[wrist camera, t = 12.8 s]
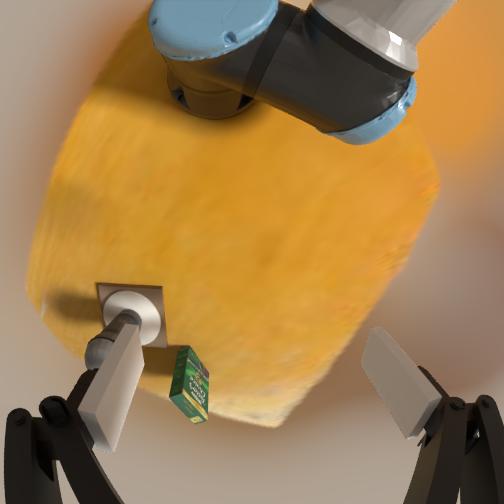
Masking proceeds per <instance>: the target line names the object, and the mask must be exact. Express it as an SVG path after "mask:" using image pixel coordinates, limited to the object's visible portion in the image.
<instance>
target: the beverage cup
mask: <svg viewBox="0 0 504 504" xmlns="http://www.w3.org/2000/svg"><path fill="white" fill-rule="evenodd" d="M125 324H133V325H138V327H139V333H140V330H141V325H142V319H141V317H140V315H139V314H138V313H137V312H136V311H134V310H132V309H124V310H122V311H121V312H120V313H119V314H118V315H117V316H116V317H115V318H114V319H113V320H112V321H111V322H110V323H109V324H108V325H107V327H106V328H105V329H104V330H103V331H102V332H101V333H100V334H98V335H97V336H95V337H94V338H93V339H91V340H90V341H89V342H88V345H87V348H86V352H85V364H86V367H87V369H90V370H96V371H98V370H99V368H100V366H101V365H102V363H103V361H104V359H105V358H106V356H107V354H108V352H109V351H110V349H111V347H112V345H113V344H114V342H115V340H116V339H117V337H118V335H119V333H120V332H121V330H122V328H123V327H124V325H125Z"/></svg>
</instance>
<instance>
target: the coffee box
mask: <svg viewBox="0 0 504 504" xmlns="http://www.w3.org/2000/svg"><path fill="white" fill-rule="evenodd" d="M208 390H209V372H208V371H207V370H206V368H205V367H204V365H203V364H202V363H201V361H200V360H199V358H198V357H197V356H196V354H195V352H194V351H193V350H192V348H191V347H190V346H188V347H185V348H182V349H180V350H179V351H178V356H177V361H176V365H175V370H174V374H173V379H172V384H171V389H170V394H169V398H170V399H171V400H172V401H173V402H174V403H175V404H176V406H178V408H179V409H180V410H181V411H182V412H183V413H184V414H185V415H186V416H187V417H188V418H189V419H190V420H191V421H192V422H194V423H195V424H198V423H201V422H205V421H208Z"/></svg>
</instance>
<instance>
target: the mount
mask: <svg viewBox="0 0 504 504" xmlns="http://www.w3.org/2000/svg"><path fill="white" fill-rule="evenodd" d="M98 289H99V295H100V301H101V307H102V313H103V318H104V323H105V328H106V327H107V325H108V324H109V323H110V322H111V321H112V320H113V319H114V318H115V317H116V316H117V315H118V314H119V313H120V312H121V311H122V310H124V309H132V310H134V311H136V312H137V313H138V314H139V315H140V317H141V319H142V325H141V330H140V333H139V334H140V340H141V346H148V347H159V348H167V345H168V342H167V333H166V324H165V313H164V301H163V287H162V286H143V285H126V284H110V283H100V284H99V285H98Z"/></svg>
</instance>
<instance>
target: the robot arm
mask: <svg viewBox="0 0 504 504" xmlns="http://www.w3.org/2000/svg"><path fill="white" fill-rule="evenodd" d="M456 1H457V0H311V3H310V4H309V6H308V8H307V10H303V9H300V8H298V7H296V6H293V5H291V4H288V3H286V2H284V1H281V0H154V2H153V4H152V6H151V8H150V11H149V16H148V25H149V29H150V32H151V35H152V39H153V44H154V46H155V48H156V49H157V50H158V51H159V52H160V53H161V55H162V56H163V58H164V60H165V61H166V63H167V64H168V66H169V67H168V72H167V81H168V87H169V90H170V92H171V94H172V96H173V98H174V99H175V100H176V102H177V103H178V104H179V105H180V106H181V107H182V108H183V109H184V110H186V111H187V112H189V113H190V114H192V115H195V116H197V117H201V118H205V119H224V118H229V117H232V116H235V115H237V114H239V113H241V112H243V111H245V110H246V109H248V108H249V107H250V106H251V105H252V104H253V103H254V102H255V101H256V100H259V101H261V102H263V103H266V104H268V105H270V106H272V107H275V108H277V109H279V110H281V111H283V112H285V113H288V114H290V115H292V116H294V117H296V118H298V119H300V120H302V121H304V122H306V123H308V124H310V125H312V126H314V127H316V129H317V130H318V131H320V132H321V133H323V134H327V135H331V136H333V137H335V138H337V139H339V140H341V141H343V142H345V143H348V144H352V145H365V144H369V143H372V142H374V141H376V140H378V139H380V138H382V137H383V136H385V135H386V134H388V133H389V132H390V131H391V130H393V129H394V128H395V127H396V126H397V125H398V124H399V123H400V122H401V120H402V119H403V118H404V117H405V115H406V111H405V110H406V109H407V108H408V107H410V106H412V104H413V102H414V99H415V96H416V90H417V85H416V81H415V78H414V77H413V74H414V73H415V72H416V71H417V69H418V68H419V64H418V57H417V52H416V48H417V44H418V43H419V42H420V41H421V40H422V39H423V38H424V37H425V35H426V34H427V33H428V32H429V31H430V30H431V29H432V28H433V26H434V25H435V24H436V23H437V22H438V21H439V20H440V19H441V18H442V17H443V16H444V14H445V13H446V12H447V11H448V10H449V9H450V8H451V7H452V6H453V5H454V3H455V2H456ZM144 365H145V364H144V358H143V353H142V347H141V340H140V334H139V327H138V325H133V324H125V325H124V327H123V328H122V330H121V332H120V333H119V335H118V337H117V339H116V340H115V342H114V344H113V345H112V347H111V349H110V351H109V352H108V354H107V356H106V358H105V359H104V361H103V363H102V365H101V366H100V368H99V370H98V371H96V370H90V369H88V370H87V371H86V372H84V373H83V374H82V375H81V376H80V378H79V380H78V381H77V384H76V385H75V386H74V389H73V390H72V392H71V393H70V395H69V397H68V398H67V400H65V399H63V398H62V397H59V396H49V397H47V398H45V399H44V400H42V401H41V403H40V405H39V412H40V413H41V415H42V417H43V418H41V417H32V416H31V414H30V413H29V411H27V410H26V409H23V408H17V409H14V410H12V411H11V412H10V413H9V414H8V417H7V422H6V433H5V448H4V485H5V486H4V487H5V501H6V504H63V503H62V498H61V493H60V487H59V481H58V475H57V468H56V460H60V463H61V465H62V468H63V470H64V472H65V475H66V477H67V479H68V481H69V483H70V486H71V488H72V490H73V492H74V494H75V496H76V498H77V500H78V502H79V503H80V504H124V502H123V501H122V499H121V498H120V496H119V495H118V494H117V492H116V490H115V489H114V487H113V485H112V484H111V482H110V481H109V479H108V477H107V475H106V474H105V472H104V470H103V469H102V467H101V465H100V463H99V462H98V460H97V458H96V456H95V454H94V452H93V451H92V448H93V445H94V443H95V445H96V447H97V448H98V450H102V451H105V452H110V453H114V452H115V449H116V446H117V443H118V440H119V436H120V433H121V430H122V427H123V424H124V421H125V418H126V415H127V412H128V409H129V406H130V403H131V401H132V397H133V395H134V392H135V389H136V387H137V384H138V381H139V378H140V376H141V373H142V370H143V368H144ZM361 366H362V368H363V369H364V371H365V373H366V374H367V375H368V377H369V379H370V381H371V382H372V384H373V385H374V387H375V388H376V390H377V392H378V393H379V395H380V397H381V398H382V400H383V402H384V403H385V405H386V406H387V408H388V410H389V411H390V413H391V415H392V416H393V418H394V420H395V421H396V423H397V425H398V426H399V428H400V430H401V431H402V433H403V435H404V437H405V438H406V439H410V438H413V437H416V436H418V435H419V433H420V432H421V431H422V429H423V428H424V429H425V431H426V433H425V435H424V436H423V438H422V439H421V440H420V442H419V443H418V445H417V446H419V445H420V444H421V443H422V445H421V449H420V453H419V457H418V460H417V464H416V467H415V471H414V474H413V477H412V480H411V483H410V486H409V489H408V492H407V494H406V497H405V500H404V503H403V504H456V502H457V498H458V493H459V488H460V501H461V502H460V503H461V504H504V425H503V422H502V419H501V416H500V413H499V410H498V407H497V405H496V402H495V401H494V399H493V398H492V397H490V396H488V395H480V396H479V397H478V398H477V400H476V402H475V403H465V402H464V401H463V400H462V399H461V398H458V397H449V395H448V394H447V393H446V392H445V391H444V389H443V388H442V387H441V386H440V385H439V384H438V382H436V380H435V379H434V378H433V377H432V375H431V374H430V373H429V372H428V371H427V370H426V369H424V368H423V367H421V366H416V365H415V364H414V363H413V361H412V360H411V359H410V358H409V357H408V356H407V354H406V353H405V352H404V351H403V350H402V349H401V347H400V346H399V345H398V344H397V343H396V342H395V341H394V340H393V339H392V337H391V336H390V335H389V334H388V333H387V332H386V331H385V330H384V328H383V327H371V330H370V334H369V337H368V341H367V344H366V348H365V351H364V354H363V357H362V360H361ZM478 432H479V437H478V436H477V433H478Z"/></svg>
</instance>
